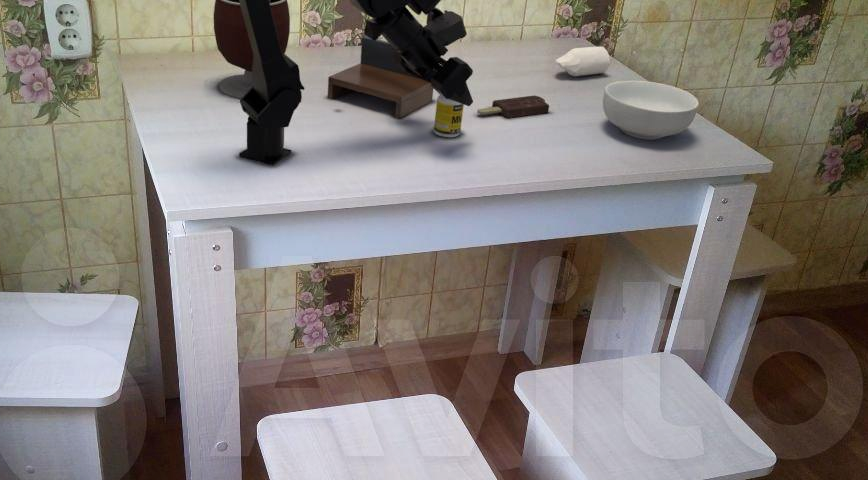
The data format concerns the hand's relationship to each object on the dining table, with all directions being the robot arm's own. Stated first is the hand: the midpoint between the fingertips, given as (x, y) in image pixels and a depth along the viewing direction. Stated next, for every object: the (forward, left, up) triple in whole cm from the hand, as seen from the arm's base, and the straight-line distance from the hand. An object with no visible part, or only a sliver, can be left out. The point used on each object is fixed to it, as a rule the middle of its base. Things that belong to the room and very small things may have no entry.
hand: (457, 94), depth 171 cm
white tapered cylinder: (+45, -9, -7) cm, 46 cm away
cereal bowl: (+21, -29, -7) cm, 37 cm away
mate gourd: (-1, +41, -7) cm, 41 cm away
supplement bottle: (-1, +1, -7) cm, 7 cm away
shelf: (+7, +18, -7) cm, 21 cm away
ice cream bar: (+16, -5, -7) cm, 18 cm away
